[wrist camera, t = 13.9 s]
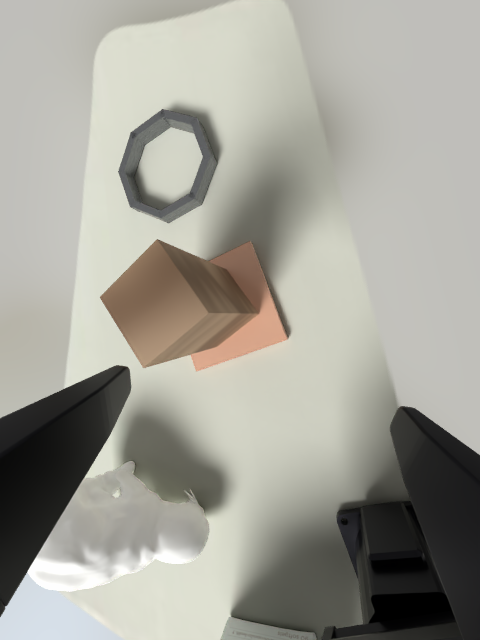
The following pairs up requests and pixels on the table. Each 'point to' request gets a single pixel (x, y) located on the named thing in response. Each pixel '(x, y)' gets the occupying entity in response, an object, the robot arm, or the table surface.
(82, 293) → the table surface
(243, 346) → the terracotta mat
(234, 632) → the supplement box
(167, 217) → the metal ring
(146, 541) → the white lumpy piece
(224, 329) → the walnut block
